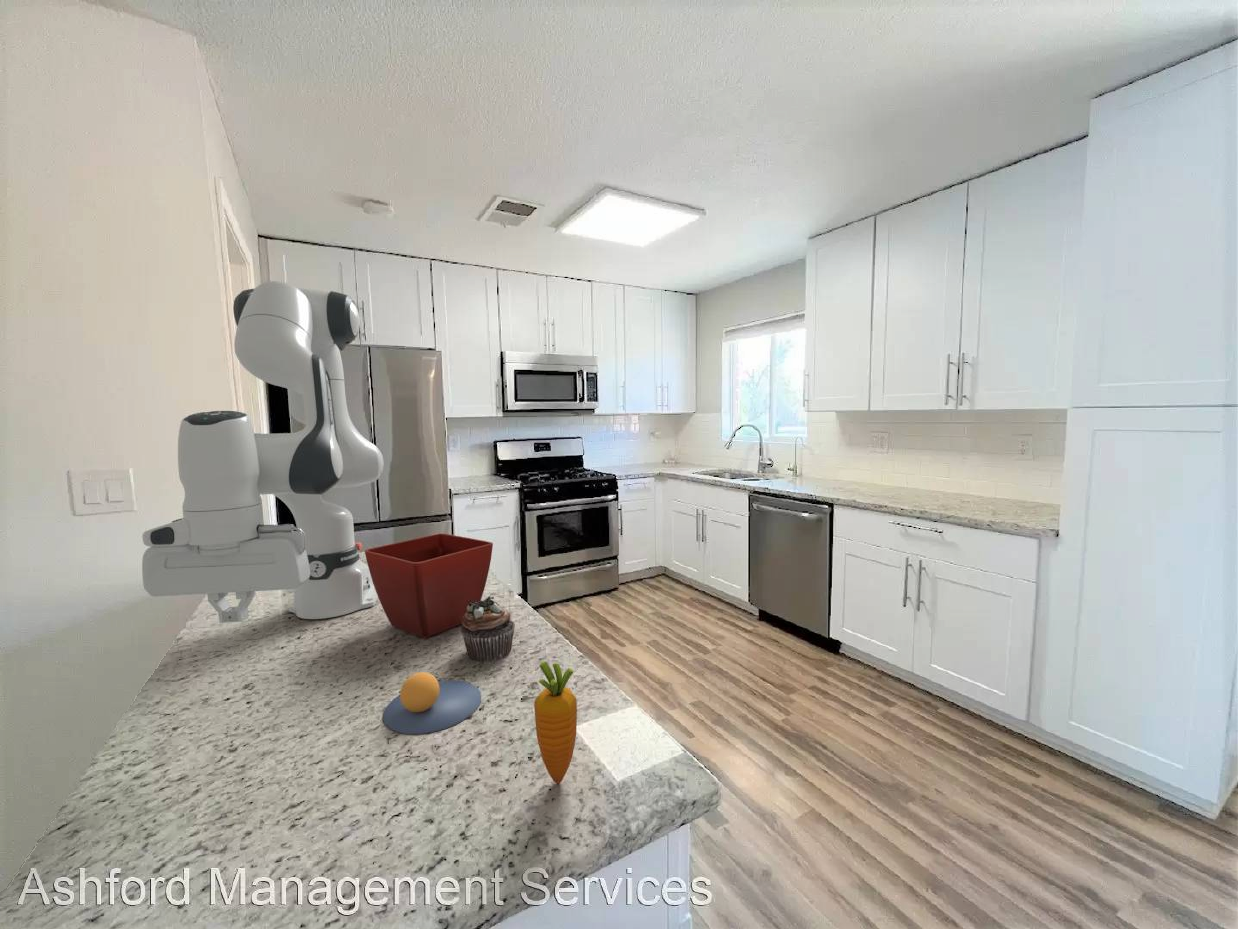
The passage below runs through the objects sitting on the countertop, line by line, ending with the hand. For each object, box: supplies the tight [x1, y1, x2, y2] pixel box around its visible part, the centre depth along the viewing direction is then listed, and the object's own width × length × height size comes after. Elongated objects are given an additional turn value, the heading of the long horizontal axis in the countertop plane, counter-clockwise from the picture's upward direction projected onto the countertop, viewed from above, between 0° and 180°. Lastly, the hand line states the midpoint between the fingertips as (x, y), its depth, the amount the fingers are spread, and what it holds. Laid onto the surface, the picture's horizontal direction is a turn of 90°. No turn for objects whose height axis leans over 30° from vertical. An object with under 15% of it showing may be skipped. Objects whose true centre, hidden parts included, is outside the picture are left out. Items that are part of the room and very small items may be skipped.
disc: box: [382, 679, 482, 735], centre depth 76 cm, size 14×14×1 cm
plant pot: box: [364, 533, 494, 639], centre depth 107 cm, size 19×19×17 cm
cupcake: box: [460, 595, 516, 663], centre depth 93 cm, size 10×10×10 cm
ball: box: [399, 671, 439, 713], centre depth 75 cm, size 6×6×6 cm
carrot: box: [533, 660, 578, 785], centre depth 59 cm, size 5×5×15 cm
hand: (234, 621), depth 72 cm, fingers closed
